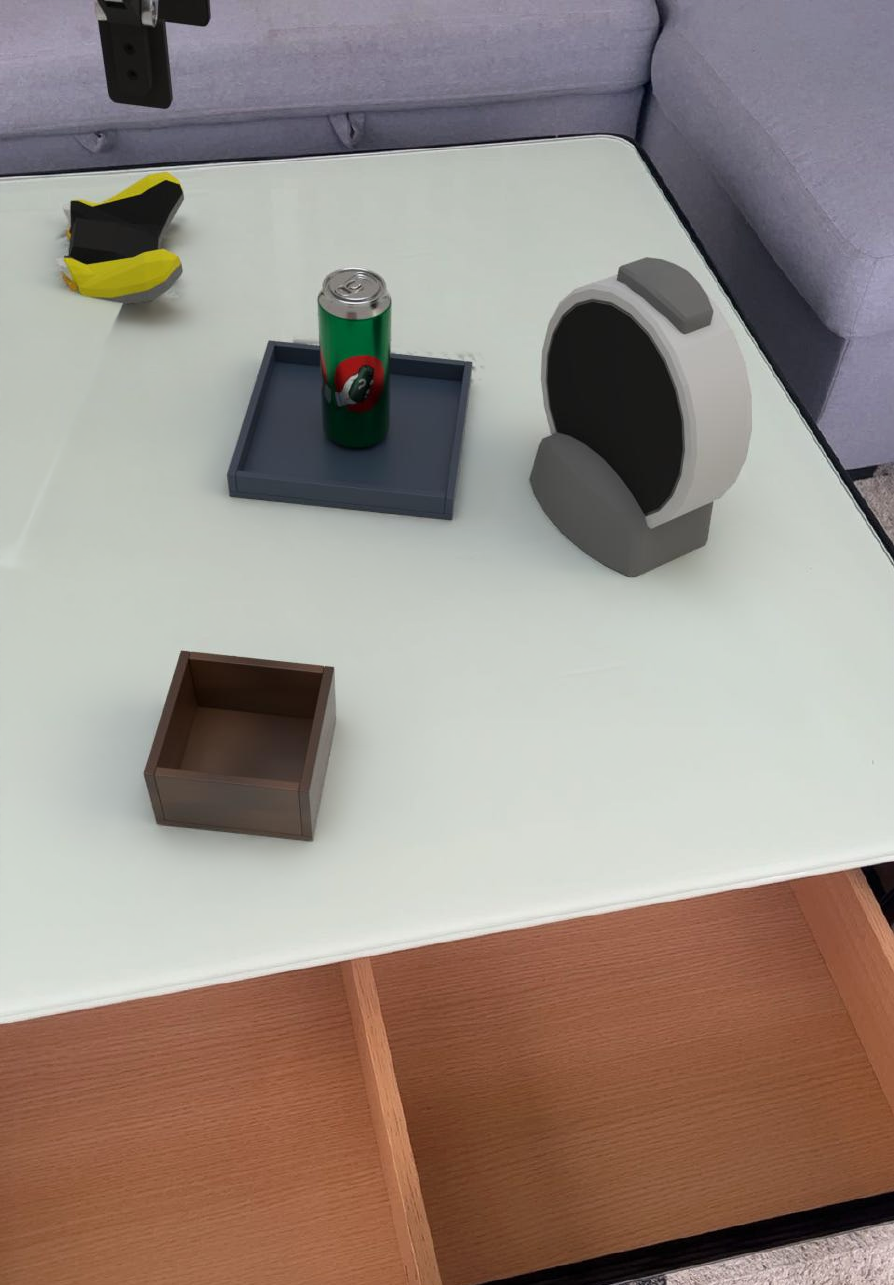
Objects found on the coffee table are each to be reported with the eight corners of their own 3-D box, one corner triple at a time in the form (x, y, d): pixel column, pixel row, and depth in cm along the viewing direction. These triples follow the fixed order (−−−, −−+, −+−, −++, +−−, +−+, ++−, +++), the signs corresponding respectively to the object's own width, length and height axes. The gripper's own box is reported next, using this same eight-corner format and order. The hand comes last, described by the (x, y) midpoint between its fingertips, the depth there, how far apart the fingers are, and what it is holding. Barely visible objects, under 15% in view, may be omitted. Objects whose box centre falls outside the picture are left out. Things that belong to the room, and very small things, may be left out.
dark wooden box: (156, 824, 69) (142, 773, 65) (191, 703, 74) (180, 649, 70) (312, 841, 69) (309, 792, 65) (336, 719, 74) (334, 666, 70)
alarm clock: (497, 468, 89) (523, 234, 74) (604, 425, 92) (649, 194, 77) (631, 603, 81) (689, 373, 66) (741, 550, 85) (820, 322, 70)
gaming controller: (189, 226, 105) (74, 228, 104) (181, 164, 101) (61, 165, 100) (188, 326, 97) (62, 328, 96) (179, 262, 92) (47, 264, 91)
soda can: (403, 431, 90) (407, 285, 80) (356, 462, 87) (354, 316, 78) (355, 402, 91) (353, 255, 82) (308, 431, 89) (301, 284, 79)
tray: (229, 496, 85) (226, 474, 84) (270, 362, 95) (268, 339, 93) (452, 520, 85) (453, 498, 83) (470, 383, 94) (472, 361, 93)
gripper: (81, -433, 55) (131, -14, 68) (-39, -339, 45) (48, 130, 58) (243, -411, 55) (260, 3, 69) (160, -313, 45) (199, 149, 59)
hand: (162, 61), depth 64 cm, fingers open, 9 cm apart
